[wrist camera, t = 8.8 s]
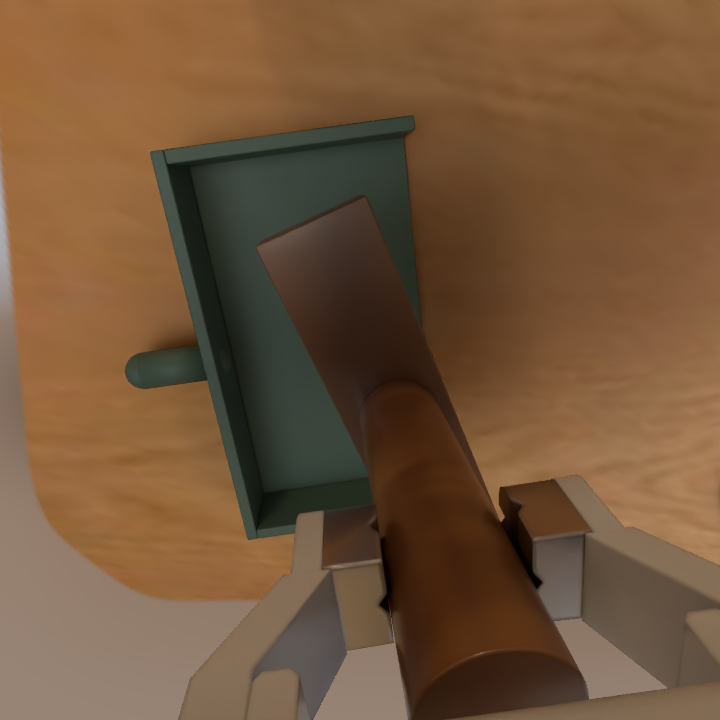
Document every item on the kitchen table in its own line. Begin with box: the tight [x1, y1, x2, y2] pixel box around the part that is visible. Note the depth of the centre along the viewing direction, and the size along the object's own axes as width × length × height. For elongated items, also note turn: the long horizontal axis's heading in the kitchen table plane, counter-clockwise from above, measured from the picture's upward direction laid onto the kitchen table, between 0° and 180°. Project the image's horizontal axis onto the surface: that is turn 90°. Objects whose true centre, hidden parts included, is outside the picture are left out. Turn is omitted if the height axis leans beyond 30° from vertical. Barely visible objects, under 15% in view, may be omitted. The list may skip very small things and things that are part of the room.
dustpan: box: [125, 115, 421, 540], centre depth 22 cm, size 13×17×3 cm
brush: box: [255, 195, 589, 720], centre depth 12 cm, size 3×12×12 cm, turn 24°
